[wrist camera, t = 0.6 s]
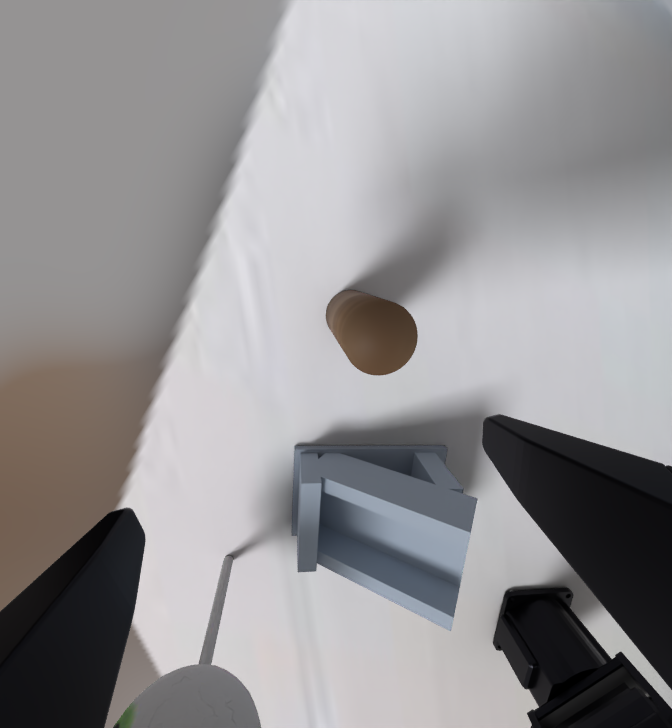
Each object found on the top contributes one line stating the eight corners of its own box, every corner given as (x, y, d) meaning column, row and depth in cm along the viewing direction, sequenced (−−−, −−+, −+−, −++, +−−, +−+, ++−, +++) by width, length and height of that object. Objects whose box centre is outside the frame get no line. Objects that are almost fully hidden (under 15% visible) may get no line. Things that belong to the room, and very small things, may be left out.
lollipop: (210, 504, 24) (88, 844, 10) (293, 543, 26) (293, 878, 12) (162, 575, 25) (-9, 972, 11) (245, 607, 27) (191, 986, 13)
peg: (376, 291, 22) (422, 302, 14) (372, 340, 22) (412, 376, 15) (327, 288, 21) (346, 298, 14) (324, 338, 22) (340, 374, 14)
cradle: (444, 445, 25) (514, 526, 17) (431, 525, 27) (488, 632, 19) (294, 445, 24) (295, 534, 16) (291, 530, 26) (290, 648, 18)
